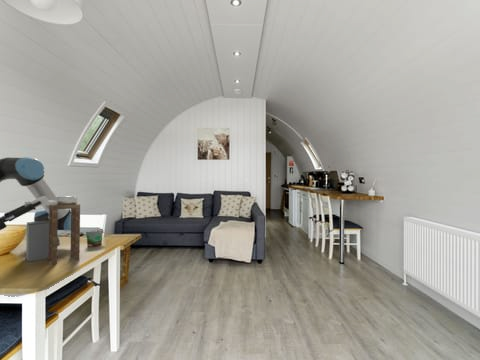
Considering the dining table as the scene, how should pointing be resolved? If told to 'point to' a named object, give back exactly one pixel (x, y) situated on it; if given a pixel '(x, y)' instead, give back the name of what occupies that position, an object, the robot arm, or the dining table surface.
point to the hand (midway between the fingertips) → (46, 198)
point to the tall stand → (54, 228)
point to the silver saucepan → (59, 201)
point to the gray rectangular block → (37, 240)
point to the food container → (94, 238)
